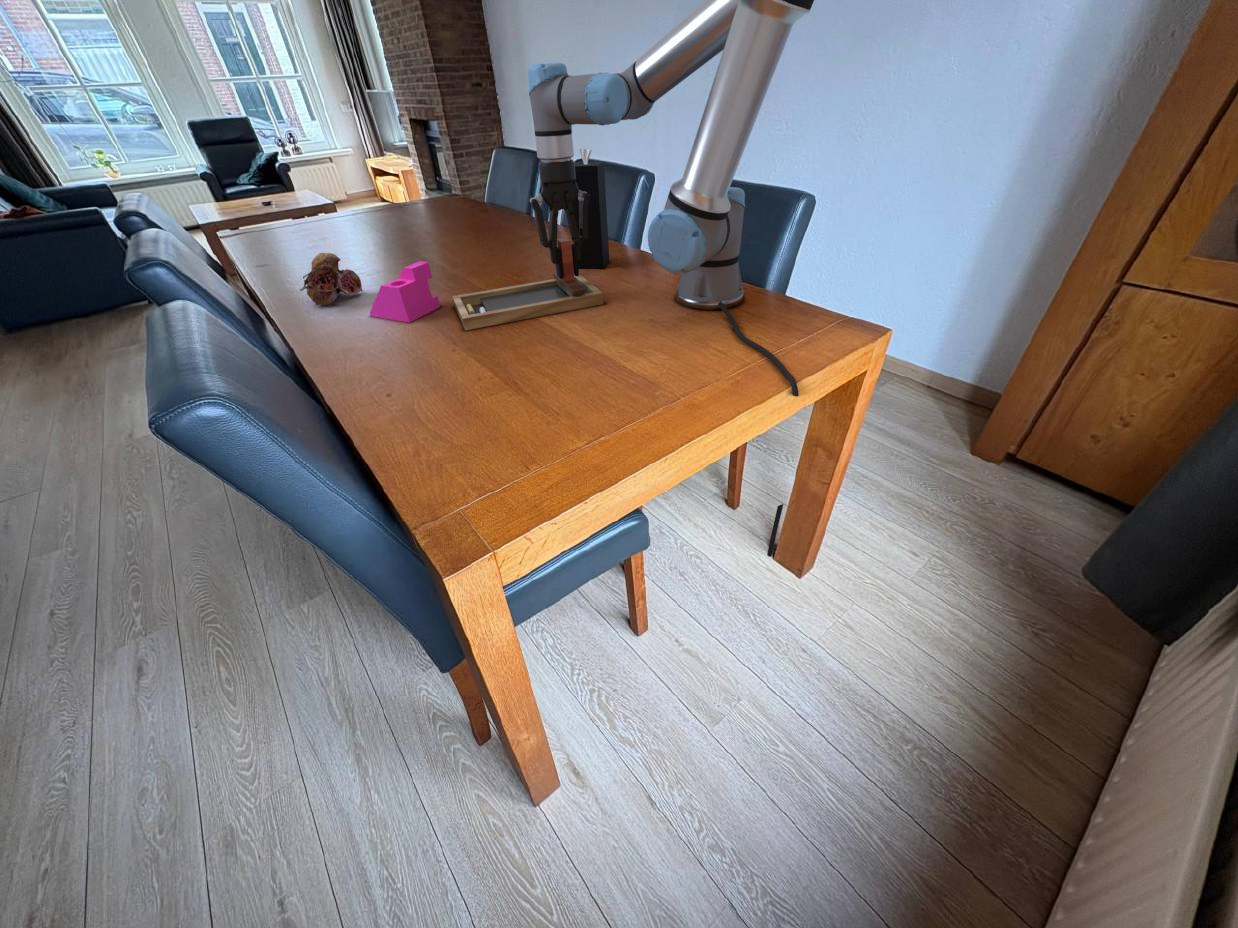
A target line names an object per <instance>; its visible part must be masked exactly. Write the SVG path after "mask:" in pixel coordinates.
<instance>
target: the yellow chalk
mask: <svg viewBox="0 0 1238 928" xmlns="http://www.w3.org/2000/svg"><path fill="white" fill-rule="evenodd" d="M466 308H467V311H468V313H469V315H472V314H475V312H474V310H473V308H472V306H471V305H470V304H467V305H466Z"/></svg>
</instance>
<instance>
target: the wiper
mask: <svg viewBox="0 0 1238 928" xmlns="http://www.w3.org/2000/svg"><path fill="white" fill-rule="evenodd" d="M571 244H572V239H571V240H570V239H569V238H568V237H564V238H557V247H558V248H560V251H561V260H562V269H563V278H564V279H560V278H559V277H558V276H557V272H553V279H556V282H557V285H558V286H560V287H561V288H562V289H563V290H564V291H565V292H566V293H567V294H568V295H569V296H570V297H571V296H577V295H582V294H585V290H584V288H583V287H582V286H580V285H579V284H578V283H577V282H576V281H575V277H574V276H575V275H574V267H573V256H572V246H571Z"/></svg>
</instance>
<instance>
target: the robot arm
mask: <svg viewBox="0 0 1238 928" xmlns="http://www.w3.org/2000/svg"><path fill="white" fill-rule="evenodd" d="M814 2H815V0H704V1H703V2H702V3H701V4H699V6H697V7H696V8H695V9H694V10H693V11H692V12H691V13H689V14H688V15H687V16H686V17H685V18H683V19H682V20H681V21H680V22H679V23H678V24H676V26H674V27H673V28H672V29H671V30H670V31H668V33H666V34H665V35H664V36H662V38H660V39H659V40H658V41H657V42H656V43H654V44H653V45H652V46H651V47H650V48H649V49H648V50H647V51H645V52H644V53H643V54H642V55H641V56H640V57H639V58H637V59H636V61H634V62H633V63H631V65H630V66H628V67H627V68H626V69H625V70H624V71H622V72H620V73H619V72H617V73H609V72H597V73H589V74H580V75H569V73H568V69H567V66H566V64H565V63H563V62H549V63H548V62H547V63H535V64H531V65H530V66H529V67H528V69H527V80H528V96H529V102H530V108H531V115H532V121H533V128H534V129H533V130H534V137H535V138H534V139H535V146H536V154H537V155H536V157H537V158H538V160H540V161H539V162H538V164H537V165H538V174H539V181H540V188H539V192H538V193H537V195H535V196H534V197H533V196H532V197H529V199H528V202H529V204H530V206H531V208H532V209H533V214H534V217H535V223H536V227H537V233H538V237H539V241H540V244H541V246H543V247H544V248H547V249H549V255H550V261H551V263H552V265H555V272H556V273H557V276H558V277H559V278H560V279H564V278H563V269H562V260H561V251H560V248H558V243H557V239H558V225H559V223H558V222H559V221H558V220H559V212H560V211H561V210H564V213H565V216H566V221H567V225H568V229H569V233H570V237H571V246H572V256H573V267H574V276H579V275H580V271H579V270H580V268H578V260H581V247H580V246H581V245H582V243H583V242H586V241H587V240H588V203H589V199H590V193H588V192H585V191H581V190H579V188H578V186H577V184H576V174H575V161H574V160H573V159H572V158H573V157H574V156H575V151H574V141H573V130H572V129H573V126H575V125H598V126H609V125H615V124H618V123H620V122H621V121H627V120H630V121H631V120H638V119H640V118H642V117H645V116H646V115H648V114H649V113H650V112H651V110H652V108H653V107H654V104H655V102H657V101H658V100H659V99H661V98H662V97H664V95H666V94H667V93H669V92H670V91H672V90H673V89H674V88H675V87H677V86H678V85H680V84H681V83H682V82H683V81H685V80H686V79H687V78H688V77H690V76H691V75H693V74H694V73H695V72H697V70H699V69H700V68H701V67H703V66H704V65H706V63H708V62H710V61H711V60H713V58H715V57H716V56H717V55H719V53H721V52H722V53H721V57H720V60H719V63H718V66H717V68H716V72H715V75H714V78H713V82H712V85H711V86H710V87H711V88H710V91H709V94H708V98H707V101H706V104H705V107H704V109H703V113H702V116H701V118H700V122H699V125H698V129H697V131H696V134H695V138H694V140H693V144H692V147H691V149H690V153H689V156H688V159H687V162H686V166H685V169H684V172H683V175H682V178H680V179H679V180H677V181H675V182H672V184H671V186H670V189H669V192H668V195H667V198H666V200H665V205H664V207H663V210H661V211H660V212H659V213H657V214H656V216H655V217H654V218H653V219H652V221H651V223H650V224H649V227H648V231H647V246H648V249H649V251H650V253H651V255H652V258H653V259H654V261H655V262H656V264H657V265H658V266H659V267H661V268H662V269H663V270H665V271H666V272H669V273H670V274H671V273H672V274H675V275H676V274H677V275H681V276H680V279H679V282H678V284H677V286H676V290H675V292H676V301H677V302H678V303H680V304H681V305H682V306H685V307H688V308H691V309H695V310H706V311H707V310H712V311H713V310H714V311H715V310H716V311H717V310H722V312H723V313H724V315H725V316H726V318H727V319H728V320H729V322H730V324H731V325H732V328H733V330H734V332H735V334H736V336H737V337H738V339H739V340H741V341H742V342H743V343H744V344H746V345H748V346H749V347H751V348H753V349H754V350H756V351H758V352H760V353H761V354H763V355H764V356H765V357H767V358H768V359H769V360H770V361H771V362H772V363H773V364H774V365H775V366H776V367H777V368H778V370H779V371H780V372H781V374H782V375H783V376H784V378H786V379H787V380H788V381H789V383H790V387H791V394H792V396H793V397H799V387H798V383H797V381H796V378H795V377H794V376H793V375H792V374H791V373H790V372H789V370H788V369H787V368H786V366H785V365H784V364H783V363H782V362H781V360H780V359H778V358H777V357H776V356H775V355H774V354H773V353H772V352H771V351H770V350H768V349H767V348H765V347H763V346H762V345H760V344H758V343H757V342H755V341H753V340H751V339H750V338H748V337H747V336H746V335H744V334H743V332H742V331H741V330H740V328H739V325H738V323H737V321H736V319H735V318H734V316H733V315H732V314H731V312H730V311H729V308H733V307H736V306H738V305H739V304H741V303H742V302H743V300H744V294H745V293H744V292H745V290H744V285H743V281H742V275H741V269H740V267H739V266H740V265H739V262H740V253H741V242H742V233H743V224H744V215H745V209H746V202H745V201H746V193H745V190H744V189H743V188H741V187H735V186H734V187H733V186H732V187H731V185H732V182H733V180H734V177H735V176H736V172H737V170H738V167H739V165H740V162H741V159H742V157H743V155H744V152H745V150H746V147H747V144H748V141H749V140H750V137H751V134H752V132H753V128H754V127H755V124H756V121H757V118H758V116H759V113H760V111H761V108H762V105H763V103H764V101H765V98H766V96H767V93H768V90H769V88H770V85H771V82H772V80H773V77H774V75H775V73H776V70H777V67H778V65H779V62H780V59H781V57H782V54H783V52H784V49H785V47H786V44H787V41H788V39H789V36H790V34H791V31H792V29H793V27H794V25H795V24H796V23H797V22H798V21H799V20H801V19H803V18H804V17H806V16H807V15H808V14H810V12H811V10H812V7H813V4H814ZM577 195H578V200H579V233H578V228H577V224H576V220H575V215H574V208H573V203H574V201H575V199H576V197H577ZM543 201H544V203H545V204H546V205H547V206H548V232H547V229H546V224H545V218H544V213H543V210H542V206H543ZM547 233H548V234H547ZM783 509H784V503H782V504H779V505H777V507H776V512H775V517H774V520H773V525H772V529H771V534H770V539H769V543H768V547H767V548H768V549H767V553H766V555H767V557H769V558H770V557H772V556H773V552H774V547H775V543H776V538H777V533H778V530H779V525H780V521H781V516H782V512H783Z"/></svg>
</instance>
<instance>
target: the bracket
mask: <svg viewBox="0 0 1238 928" xmlns="http://www.w3.org/2000/svg"><path fill="white" fill-rule="evenodd" d="M431 279H433V276H432V271H431V267H430V263H429V261H417V262H414V263H412V264H410V265H407V266H404V267H403V268H402V270H401V271H400V274H399V276H398V278H396V279H393V280H391V281H389V282H387V283H384V284H382V285H380V287H379V289H378V292H377V294H376V296H375V299H374V302H373V304H372V306H371V309H370V310H369V315H370V317H373V318H374V317H375V318H380V319H386V320H392V321H398V322H403V323H404V322H405V323H409V324H410V323H411V322H413V321H415V320H417V319H419V318H421V317H423V316H425V315H428V314H429V313H431V312H434V311H436V310H438V309H439V308H440V307H441V304H440V300H439V296H438V295H432V292H431V287H430V284H429V280H431Z"/></svg>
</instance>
